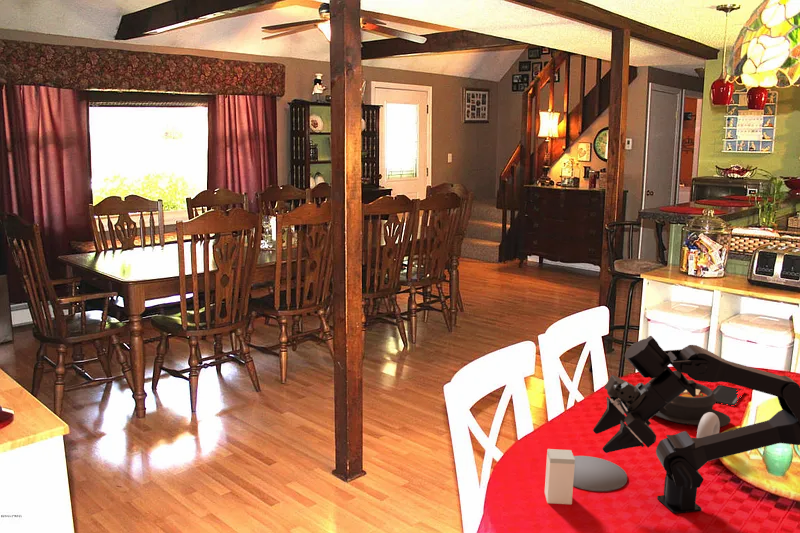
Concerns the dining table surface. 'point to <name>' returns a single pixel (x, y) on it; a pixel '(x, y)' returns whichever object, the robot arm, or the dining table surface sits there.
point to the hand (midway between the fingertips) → (599, 441)
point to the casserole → (693, 407)
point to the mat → (597, 474)
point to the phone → (726, 395)
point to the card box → (559, 476)
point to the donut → (708, 425)
